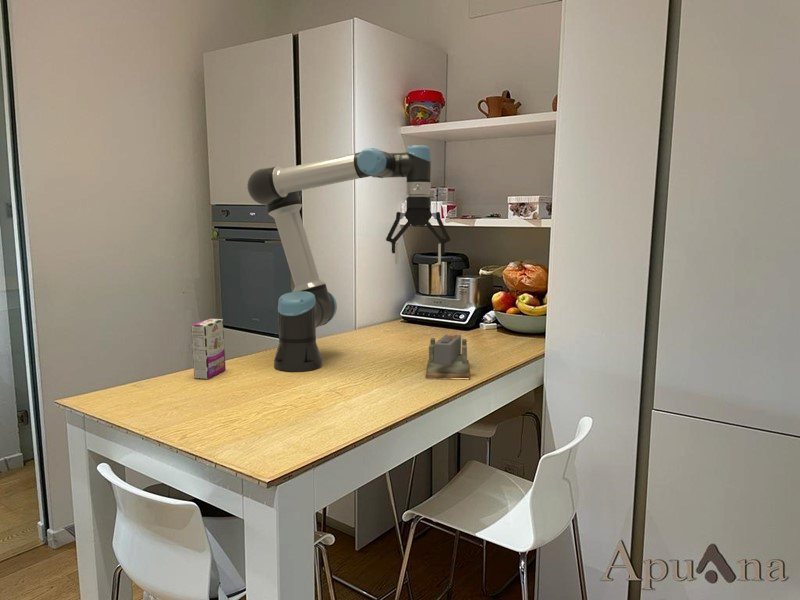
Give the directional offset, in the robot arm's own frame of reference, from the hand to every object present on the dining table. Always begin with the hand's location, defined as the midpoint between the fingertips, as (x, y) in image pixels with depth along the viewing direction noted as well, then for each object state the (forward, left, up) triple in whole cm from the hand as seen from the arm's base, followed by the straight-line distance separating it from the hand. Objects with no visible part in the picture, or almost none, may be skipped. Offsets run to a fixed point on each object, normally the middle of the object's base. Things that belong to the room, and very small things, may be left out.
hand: (418, 264), depth 197 cm
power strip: (+10, -7, -29) cm, 31 cm away
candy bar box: (-62, -19, -33) cm, 73 cm away
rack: (+10, -7, -33) cm, 35 cm away
